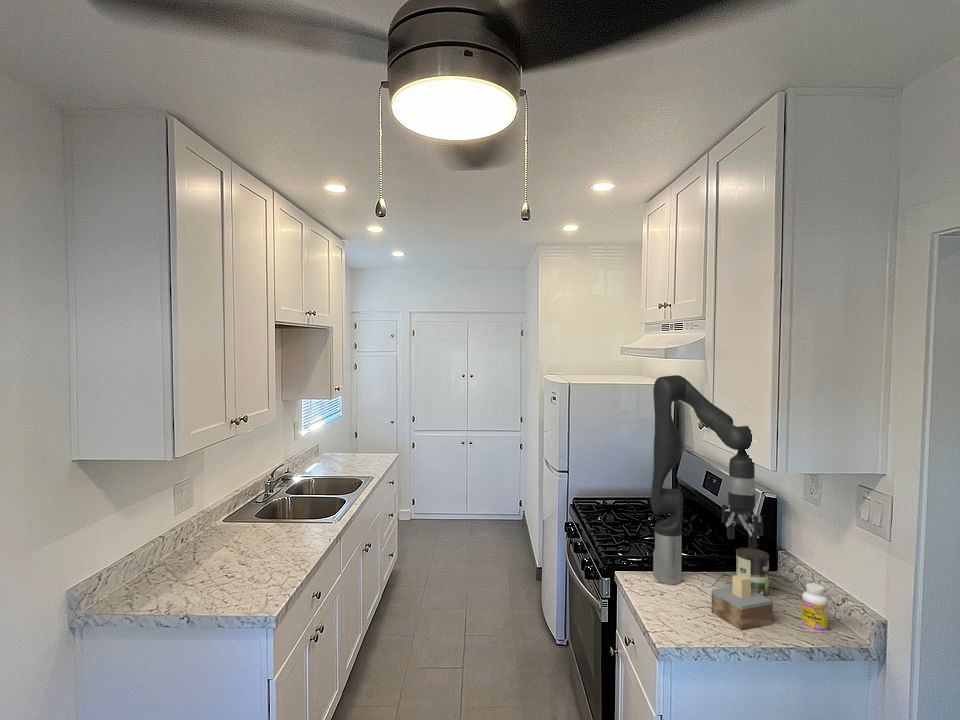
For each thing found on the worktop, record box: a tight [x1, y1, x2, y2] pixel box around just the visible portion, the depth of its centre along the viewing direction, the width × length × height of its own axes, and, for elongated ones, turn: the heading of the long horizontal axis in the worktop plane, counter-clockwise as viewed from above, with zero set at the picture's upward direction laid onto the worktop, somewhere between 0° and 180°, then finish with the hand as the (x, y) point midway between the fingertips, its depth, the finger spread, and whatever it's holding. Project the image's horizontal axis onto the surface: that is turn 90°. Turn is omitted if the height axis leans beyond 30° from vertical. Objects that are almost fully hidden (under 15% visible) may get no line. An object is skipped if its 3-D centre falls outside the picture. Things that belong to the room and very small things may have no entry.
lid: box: [711, 574, 774, 610], centre depth 166 cm, size 12×12×7 cm
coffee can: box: [735, 547, 770, 598], centre depth 185 cm, size 10×10×14 cm
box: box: [711, 592, 774, 632], centre depth 166 cm, size 12×12×7 cm
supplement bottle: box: [801, 582, 829, 633], centre depth 161 cm, size 7×7×13 cm
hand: (741, 543), depth 165 cm, fingers open, 8 cm apart
